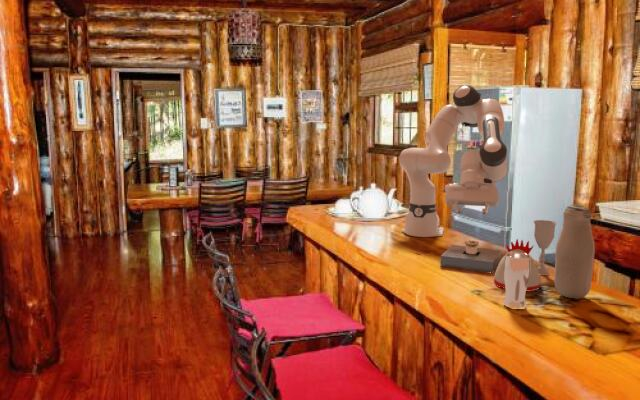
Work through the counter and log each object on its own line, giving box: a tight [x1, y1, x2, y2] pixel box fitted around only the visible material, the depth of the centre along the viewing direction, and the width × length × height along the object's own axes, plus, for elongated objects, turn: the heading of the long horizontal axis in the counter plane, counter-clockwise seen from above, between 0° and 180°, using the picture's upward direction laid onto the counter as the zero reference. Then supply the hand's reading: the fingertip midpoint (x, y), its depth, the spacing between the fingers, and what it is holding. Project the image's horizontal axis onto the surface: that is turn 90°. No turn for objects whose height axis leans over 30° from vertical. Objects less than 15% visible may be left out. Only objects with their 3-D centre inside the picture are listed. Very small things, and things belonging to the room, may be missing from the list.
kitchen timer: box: [493, 238, 541, 290], centre depth 169 cm, size 14×14×15 cm
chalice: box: [533, 219, 558, 276], centre depth 181 cm, size 7×7×18 cm
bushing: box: [464, 240, 480, 256], centre depth 194 cm, size 5×5×8 cm
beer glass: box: [503, 252, 531, 308], centre depth 150 cm, size 7×7×15 cm
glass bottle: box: [553, 204, 596, 300], centre depth 157 cm, size 10×10×28 cm
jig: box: [439, 244, 502, 274], centre depth 194 cm, size 18×18×4 cm
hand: (471, 213), depth 204 cm, fingers open, 8 cm apart
